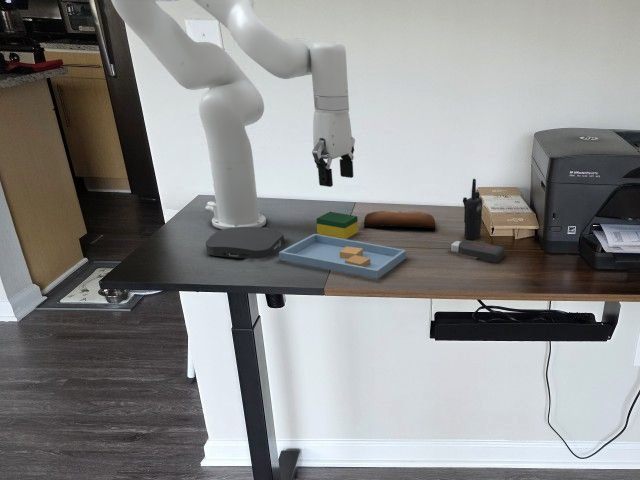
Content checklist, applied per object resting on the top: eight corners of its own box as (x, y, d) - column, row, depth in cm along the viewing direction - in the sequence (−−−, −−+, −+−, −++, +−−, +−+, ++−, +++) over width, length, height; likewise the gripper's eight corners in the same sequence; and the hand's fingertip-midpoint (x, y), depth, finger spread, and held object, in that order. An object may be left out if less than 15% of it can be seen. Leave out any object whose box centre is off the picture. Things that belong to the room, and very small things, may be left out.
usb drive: (496, 263, 156) (497, 251, 155) (449, 254, 159) (449, 242, 158) (504, 256, 160) (505, 245, 159) (457, 247, 163) (458, 236, 162)
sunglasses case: (433, 220, 179) (434, 202, 174) (434, 240, 176) (435, 223, 170) (364, 218, 177) (363, 200, 171) (364, 239, 173) (363, 221, 168)
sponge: (317, 236, 163) (316, 218, 161) (331, 229, 169) (330, 211, 166) (345, 241, 162) (344, 223, 159) (358, 234, 167) (357, 216, 165)
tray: (280, 262, 147) (279, 252, 146) (315, 243, 159) (314, 233, 158) (377, 281, 142) (377, 270, 140) (406, 260, 154) (406, 250, 152)
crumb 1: (339, 257, 150) (339, 251, 150) (346, 252, 154) (346, 246, 153) (356, 260, 150) (356, 254, 149) (363, 254, 153) (363, 248, 153)
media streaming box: (228, 235, 159) (226, 223, 158) (289, 240, 159) (288, 228, 158) (200, 256, 147) (198, 243, 145) (267, 262, 147) (265, 249, 145)
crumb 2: (344, 266, 146) (344, 260, 145) (355, 261, 149) (354, 254, 149) (360, 270, 145) (360, 263, 144) (370, 264, 148) (370, 258, 147)
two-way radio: (473, 241, 168) (476, 180, 161) (457, 238, 170) (459, 178, 162) (482, 235, 173) (485, 176, 165) (466, 232, 174) (469, 173, 167)
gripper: (336, 97, 158) (340, 172, 167) (295, 106, 144) (302, 187, 152) (365, 100, 156) (368, 175, 165) (326, 110, 142) (332, 191, 150)
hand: (336, 181), depth 158 cm, fingers open, 9 cm apart
